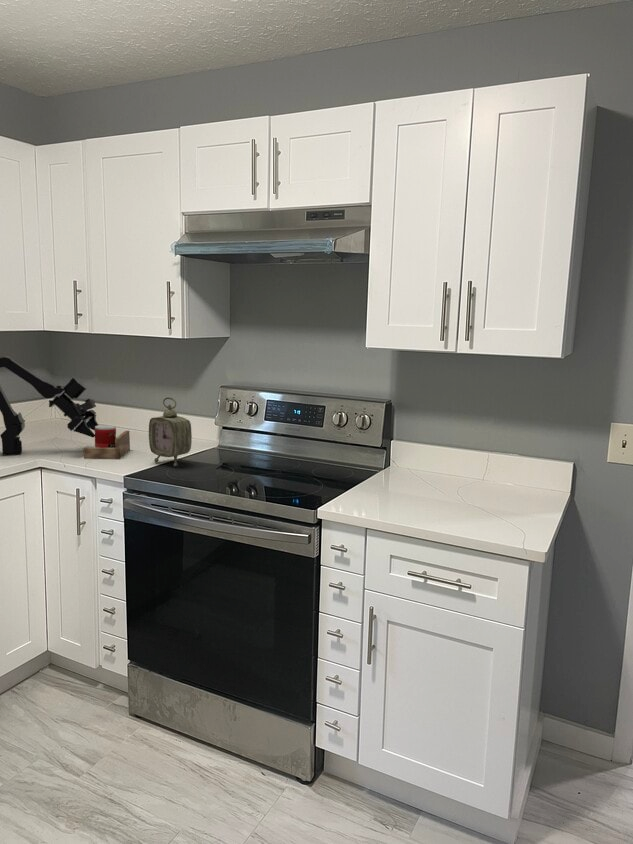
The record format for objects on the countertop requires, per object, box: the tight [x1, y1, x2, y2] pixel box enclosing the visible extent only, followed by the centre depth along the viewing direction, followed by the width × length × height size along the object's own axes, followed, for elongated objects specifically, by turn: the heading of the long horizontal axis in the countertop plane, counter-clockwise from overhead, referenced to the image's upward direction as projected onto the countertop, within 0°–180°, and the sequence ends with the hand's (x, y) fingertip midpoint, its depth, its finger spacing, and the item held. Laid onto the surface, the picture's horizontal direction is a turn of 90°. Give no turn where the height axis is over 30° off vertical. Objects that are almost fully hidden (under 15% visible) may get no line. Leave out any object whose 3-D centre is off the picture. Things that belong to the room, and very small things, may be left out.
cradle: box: [83, 430, 131, 460], centre depth 253 cm, size 14×16×8 cm
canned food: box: [94, 424, 117, 448], centre depth 252 cm, size 8×8×11 cm
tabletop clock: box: [148, 397, 193, 467], centre depth 238 cm, size 14×9×25 cm, turn 54°
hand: (97, 434), depth 256 cm, fingers open, 9 cm apart
